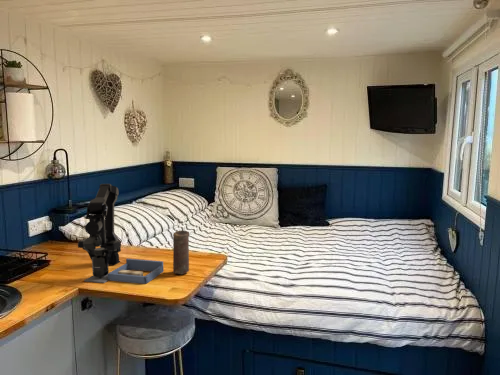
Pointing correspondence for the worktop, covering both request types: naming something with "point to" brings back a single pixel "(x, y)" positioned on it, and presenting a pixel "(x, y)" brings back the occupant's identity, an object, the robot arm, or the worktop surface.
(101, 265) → the supplement bottle
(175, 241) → the candle
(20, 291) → the worktop surface
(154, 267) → the blue-grey rectangular tray
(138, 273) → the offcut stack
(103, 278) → the mat
